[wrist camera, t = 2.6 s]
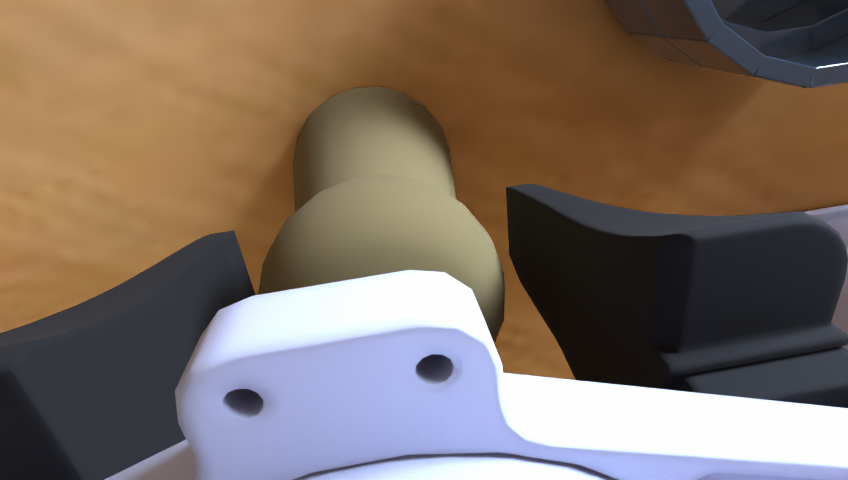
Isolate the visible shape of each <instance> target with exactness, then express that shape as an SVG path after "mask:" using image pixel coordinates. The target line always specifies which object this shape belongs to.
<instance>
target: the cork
mask: <svg viewBox="0 0 848 480" xmlns="http://www.w3.org/2000/svg"><path fill="white" fill-rule="evenodd" d="M293 169H294V197H295V213H294V214H293V215H292V216H291V217H289V218H288V219H287V220H286V221H285V223H284V225H283V226H282V228H281V230H280V232H279V233H278V235H277V237H276V239H275V240H274V242H273V244H272V246H271V247H270V249H269V251H268V253H267V255H266V258H265V260H264V263H263V266H262V273H261V279H260V286H259V293H258V295H261V294H267V293H273V292H279V291H285V290H291V289H297V288H303V287H309V286H315V285H321V284H327V283H333V282H339V281H345V280H351V279H357V278H363V277H369V276H375V275H381V274H387V273H393V272H399V271H405V270H419V271H434V272H445V273H447V274H448V275H450V276H452V277H453V278H455V279H456V280H458V281H459V282H461V283H463V284H464V285H466V286H467V287H469V288H470V289H472V291H473V293H474V296H475V298H476V300H477V303H478V305H479V307H480V310H481V312H482V314H483V317H484V319H485V322H486V324H487V327H488V330H489V332H490V335H491V337H492V340H493V342H494V343H495V341H496V338H497V336H498V333H499V331H500V328H501V326H502V323H503V321H504V297H505V284H504V272H503V270H502V267H501V264H500V261H499V258H498V255H497V252H496V250H495V247H494V244H493V242H492V240H491V238H490V237H489V235H488V233H487V232H486V230H485V229H484V228H483V227H482V225H481V224H480V223H479V222H478V221H477V219H476V218H475V217H474V216H473V215H472V213H471V212H470V211H469V210H468V209H467V208H466V206H465V205H464V204H462V203H461V202H459V201H457V200H456V195H455V188H454V180H453V173H452V165H451V158H450V150H449V147H448V144H447V141H446V138H445V136H444V133H443V130H442V127H441V126H440V124H439V123H438V122H437V121H436V119H435V118H434V117H433V116H432V114H431V113H430V112H429V111H428V109H427V108H426V107H425V106H423V105H422V104H420V103H419V102H417V101H416V100H414V99H413V98H411V97H410V96H408V95H406V94H405V93H402V92H398V91H395V90H391V89H387V88H383V87H379V86H377V87H363V88H352V89H349V90H347V91H345V92H342V93H340V94H337V95H335V96H333V97H330V98H328V99H327V100H326V101H325V102H324V103H323V104H321V105H320V106H319V107H318V108H317V109H316V110H315V111H314V112H312V113H311V114H310V115H309V117H308V119H307V120H306V122H305V124H304V126H303V128H302V130H301V131H300V133H299V135H298V137H297V141H296V148H295V154H294V160H293Z"/></svg>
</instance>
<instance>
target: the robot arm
mask: <svg viewBox="0 0 848 480" xmlns="http://www.w3.org/2000/svg"><path fill="white" fill-rule="evenodd" d="M506 196H507V218H508V239H509V255H510V258H511V260H512V263H513V265H514V268H515V270H516V273H517V275H518V277H519V280H520V282H521V283H522V285H523V287H524V289H525V290H526V292H527V293H528V295H529V297H530V298H531V300H532V302H533V303H534V305H535V306H536V308H537V310H538V311H539V313H540V314H541V316H542V318H543V319H544V321H545V322H546V324H547V326H548V327H549V329H550V330H551V332H552V334H553V335H554V337H555V338H556V340H557V342H558V344H559V346H560V348H561V349H562V351H563V353H564V356H565V358H566V360H567V362H568V364H569V366H570V369H571V371H572V373H573V375H574V377H575V379H576V380H570V379H560V378H550V377H540V376H531V375H521V374H511V373H504V372H503V368H502V362H501V360H500V357H499V355H498V352H497V350H496V347H495V345H494V342H493V340H492V337H491V335H490V332H489V330H488V327H487V324H486V322H485V319H484V317H483V314H482V312H481V310H480V307H479V305H478V303H477V300H476V298H475V296H474V293H473V291H472V289H470V288H469V287H467V286H466V285H464V284H463V283H461V282H459V281H458V280H456V279H455V278H453V277H452V276H450V275H448V274H447V273H445V272H434V271H419V270H405V271H399V272H393V273H387V274H381V275H375V276H369V277H363V278H357V279H351V280H345V281H339V282H333V283H327V284H321V285H315V286H309V287H303V288H297V289H291V290H285V291H279V292H273V293H267V294H261V295H255V292H254V289H253V286H252V283H251V280H250V277H249V274H248V271H247V268H246V265H245V262H244V259H243V256H242V253H241V250H240V247H239V244H238V241H237V238H236V235H235V232H234V231H227V232H221V233H215V234H210V235H207V236H204V237H202V238H200V239H198V240H196V241H194V242H192V243H190V244H189V245H187V246H185V247H183V248H182V249H180V250H178V251H177V252H175V253H174V254H172V255H170V256H169V257H167V258H165V259H164V260H162V261H160V262H159V263H157V264H155V265H154V266H152V267H150V268H148V269H147V270H145V271H143V272H141V273H140V274H138V275H136V276H134V277H133V278H131V279H129V280H127V281H125V282H124V283H122V284H120V285H118V286H116V287H114V288H112V289H110V290H108V291H106V292H104V293H102V294H100V295H98V296H96V297H94V298H92V299H89V300H87V301H85V302H83V303H81V304H78V305H76V306H74V307H71V308H69V309H66V310H64V311H61V312H58V313H56V314H53V315H51V316H48V317H45V318H43V319H40V320H38V321H35V322H33V323H30V324H27V325H24V326H21V327H18V328H15V329H12V330H9V331H6V332H3V333H0V480H848V204H847V205H841V206H835V207H829V208H823V209H817V210H811V211H805V212H800V211H796V212H783V213H769V214H756V215H739V216H693V215H677V214H662V213H653V212H645V211H639V210H632V209H626V208H621V207H616V206H611V205H607V204H603V203H599V202H595V201H591V200H587V199H584V198H580V197H577V196H574V195H570V194H567V193H564V192H561V191H557V190H554V189H551V188H547V187H544V186H540V185H536V184H524V185H517V186H511V187H506Z"/></svg>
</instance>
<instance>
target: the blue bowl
mask: <svg viewBox="0 0 848 480" xmlns="http://www.w3.org/2000/svg"><path fill="white" fill-rule="evenodd" d="M606 1H607V3H608V4H609V6H610V7H611V9H612V10H613V12H614V13H615V15H616V16H617V18H618V20H619V21H620V23H621V24H622V26H623V27H624V29H625V30H626V31H627V32H628V34H630V35H631V36H632V37H634V38H635V39H637V40H638V41H640V42H641V43H642V44H644V45H645V46H647V47H648V48H649V49H651V50H652V51H654V52H655V53H657V54H658V55H659V56H661V57H662V58H664V59H667V60H668V61H672V62H677V63H681V64H686V65H690V66H695V67H700V68H704V69H709V70H714V71H719V72H724V73H729V74H735V75H740V76H745V77H751V78H755V79H761V80H766V81H771V82H776V83H781V84H787V85H792V86H797V87H802V88H815V87H821V86H828V85H834V84H841V83H848V0H606Z"/></svg>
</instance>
